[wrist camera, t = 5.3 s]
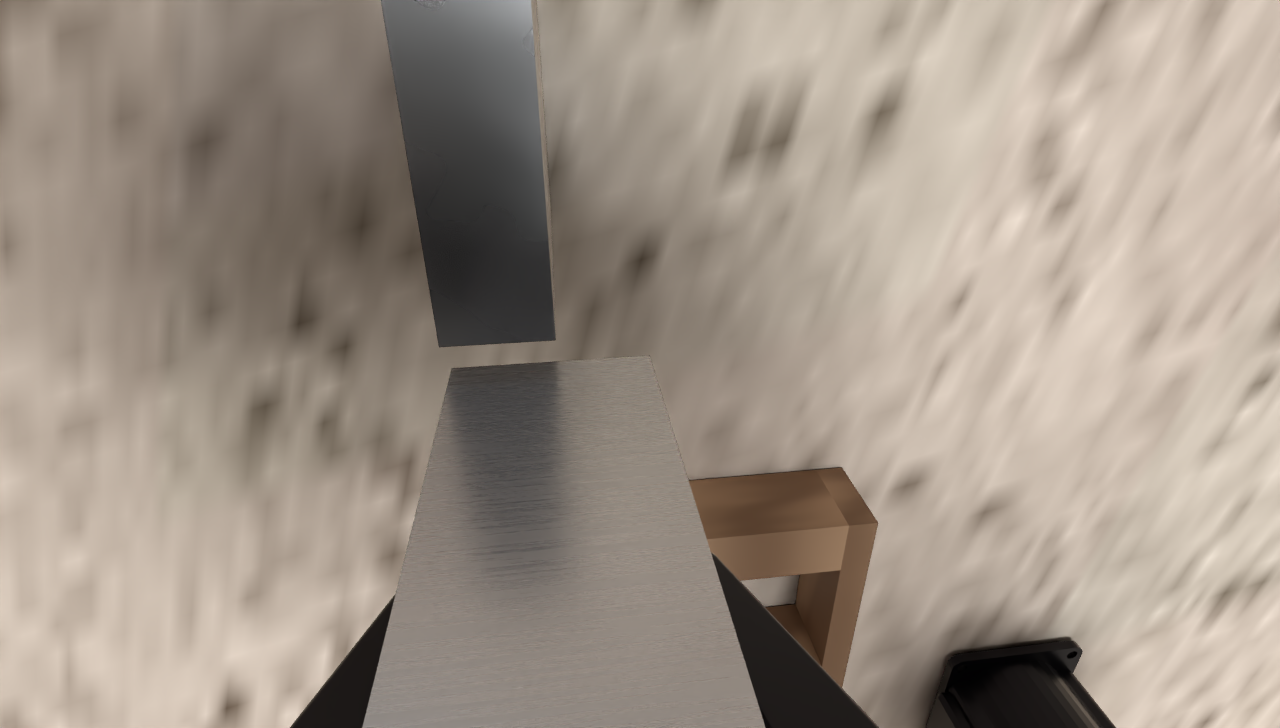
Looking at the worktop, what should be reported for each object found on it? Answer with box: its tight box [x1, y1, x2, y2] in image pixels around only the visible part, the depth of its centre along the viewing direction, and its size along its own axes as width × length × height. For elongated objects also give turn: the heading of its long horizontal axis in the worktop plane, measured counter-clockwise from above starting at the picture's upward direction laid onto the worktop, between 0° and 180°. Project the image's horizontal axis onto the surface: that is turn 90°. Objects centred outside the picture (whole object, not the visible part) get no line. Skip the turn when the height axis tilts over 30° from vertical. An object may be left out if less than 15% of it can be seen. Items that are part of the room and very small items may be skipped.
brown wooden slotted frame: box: [689, 468, 878, 688], centre depth 24 cm, size 12×9×3 cm
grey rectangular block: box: [381, 0, 556, 347], centre depth 14 cm, size 2×5×8 cm, turn 0°
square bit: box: [362, 356, 765, 728], centre depth 8 cm, size 4×4×10 cm
